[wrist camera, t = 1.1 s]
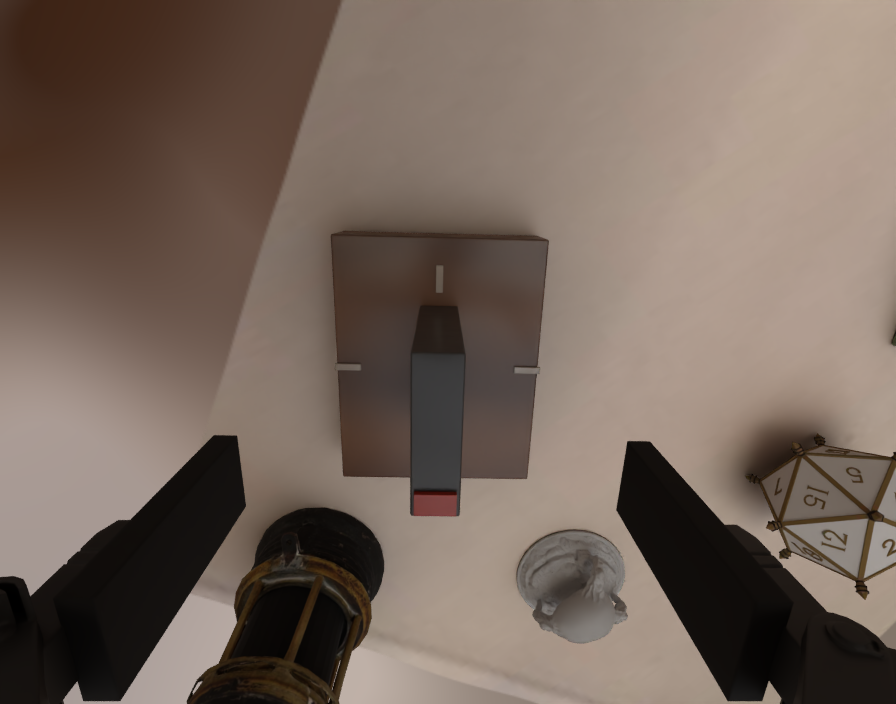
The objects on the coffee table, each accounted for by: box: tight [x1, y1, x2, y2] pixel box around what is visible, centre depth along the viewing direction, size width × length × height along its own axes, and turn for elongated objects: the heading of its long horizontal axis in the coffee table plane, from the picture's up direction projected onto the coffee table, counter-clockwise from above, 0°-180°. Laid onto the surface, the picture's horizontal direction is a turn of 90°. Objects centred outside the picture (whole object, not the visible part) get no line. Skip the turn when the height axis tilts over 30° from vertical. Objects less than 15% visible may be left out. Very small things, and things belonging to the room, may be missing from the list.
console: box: [331, 231, 549, 479], centre depth 26 cm, size 14×11×3 cm
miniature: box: [517, 530, 628, 643], centre depth 31 cm, size 8×8×5 cm
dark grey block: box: [410, 306, 466, 516], centre depth 21 cm, size 7×2×8 cm, turn 179°
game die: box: [745, 433, 896, 600], centre depth 27 cm, size 9×8×10 cm
